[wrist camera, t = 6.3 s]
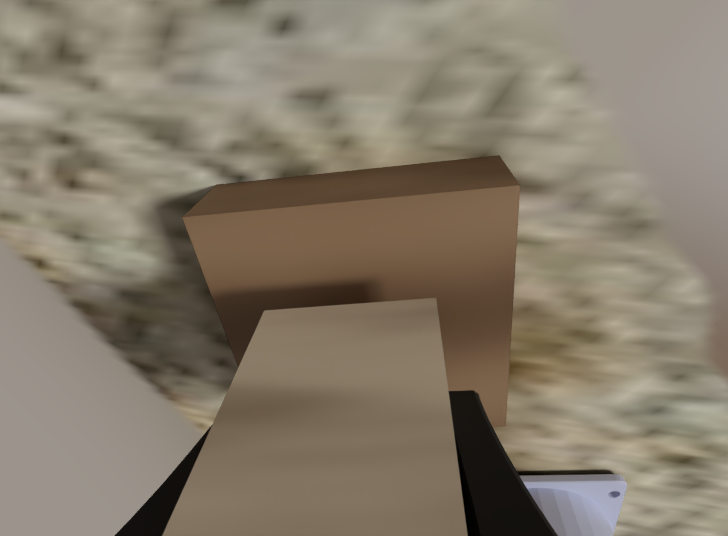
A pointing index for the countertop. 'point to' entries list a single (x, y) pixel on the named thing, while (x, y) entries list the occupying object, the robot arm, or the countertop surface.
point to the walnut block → (373, 254)
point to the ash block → (332, 431)
